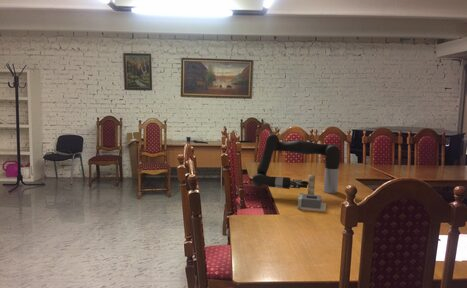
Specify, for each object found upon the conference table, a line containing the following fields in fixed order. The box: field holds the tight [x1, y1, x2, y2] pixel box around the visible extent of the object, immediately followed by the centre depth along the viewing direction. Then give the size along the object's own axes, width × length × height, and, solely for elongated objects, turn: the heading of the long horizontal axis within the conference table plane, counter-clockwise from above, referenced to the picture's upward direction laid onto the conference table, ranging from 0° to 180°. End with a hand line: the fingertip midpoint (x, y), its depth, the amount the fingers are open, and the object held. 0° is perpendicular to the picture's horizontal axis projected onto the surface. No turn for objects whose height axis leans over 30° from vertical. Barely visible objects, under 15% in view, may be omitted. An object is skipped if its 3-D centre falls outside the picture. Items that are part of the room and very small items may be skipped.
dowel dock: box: [297, 192, 327, 213], centre depth 220 cm, size 14×16×6 cm
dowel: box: [307, 174, 316, 195], centre depth 235 cm, size 4×4×16 cm
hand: (307, 184), depth 235 cm, fingers open, 8 cm apart
